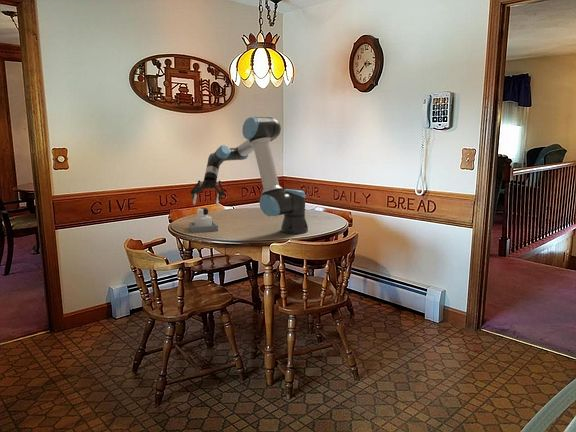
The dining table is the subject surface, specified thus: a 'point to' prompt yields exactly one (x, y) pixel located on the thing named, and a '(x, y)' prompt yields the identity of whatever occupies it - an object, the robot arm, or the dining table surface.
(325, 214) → the dining table surface
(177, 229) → the dining table surface
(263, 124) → the robot arm
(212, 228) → the pill tray
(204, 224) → the medicine bottle
